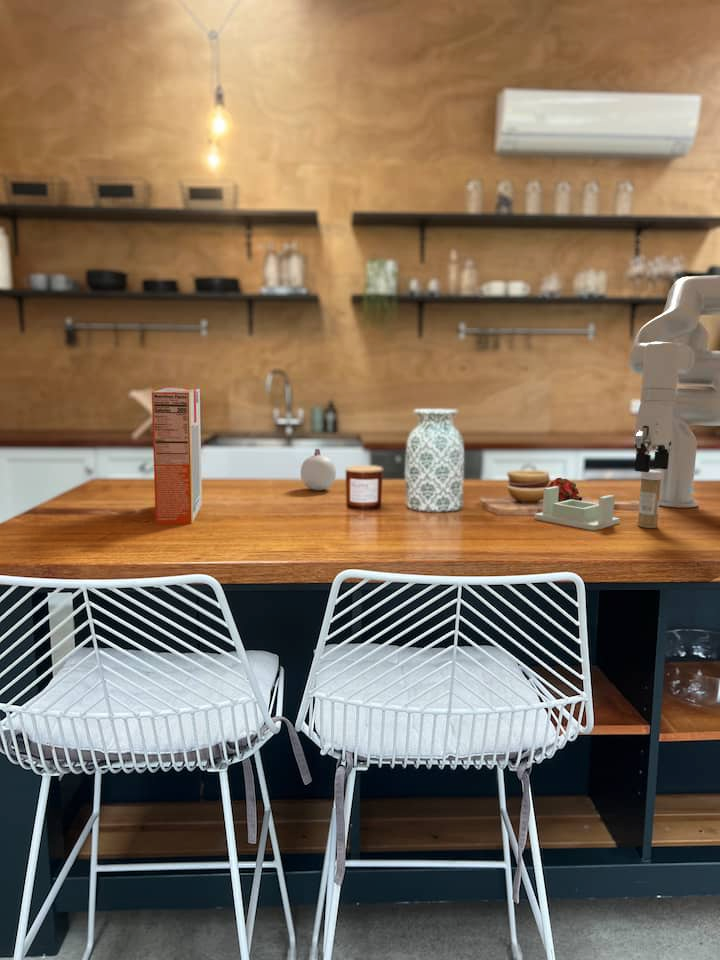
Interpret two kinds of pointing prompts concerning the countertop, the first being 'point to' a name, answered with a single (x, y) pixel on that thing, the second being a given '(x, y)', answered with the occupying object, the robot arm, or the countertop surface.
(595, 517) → the caddy
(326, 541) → the countertop surface
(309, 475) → the ornament
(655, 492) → the sprinkles bottle
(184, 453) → the orange cereal box
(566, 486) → the dragon fruit
